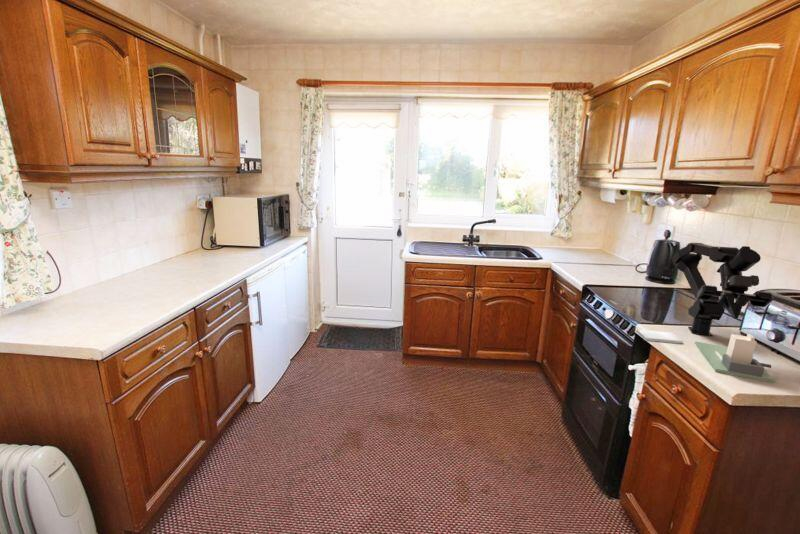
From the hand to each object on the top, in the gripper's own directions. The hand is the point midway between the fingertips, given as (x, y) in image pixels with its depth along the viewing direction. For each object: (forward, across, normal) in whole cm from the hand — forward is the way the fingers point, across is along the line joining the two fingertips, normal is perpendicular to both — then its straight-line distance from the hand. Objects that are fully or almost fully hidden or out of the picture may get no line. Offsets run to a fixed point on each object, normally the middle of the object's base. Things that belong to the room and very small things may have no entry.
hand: (736, 318), depth 125 cm
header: (+17, 0, +1) cm, 17 cm away
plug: (+15, +3, +3) cm, 15 cm away
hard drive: (+5, -18, +15) cm, 24 cm away
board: (+12, 0, +7) cm, 14 cm away
